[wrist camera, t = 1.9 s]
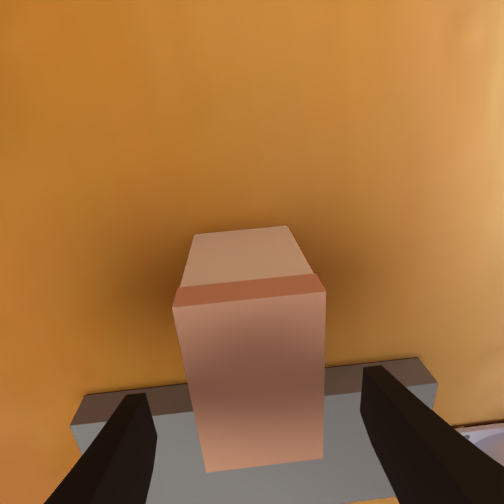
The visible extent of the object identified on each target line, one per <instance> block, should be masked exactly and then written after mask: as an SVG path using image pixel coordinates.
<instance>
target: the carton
mask: <svg viewBox="0 0 504 504" xmlns="http://www.w3.org/2000/svg"><path fill="white" fill-rule="evenodd" d="M172 311H173V316H174V321H175V326H176V330H177V335H178V340H179V345H180V350H181V354H182V359H183V364H184V369H185V374H186V378H187V383H188V388H189V393H190V398H191V402H192V407H193V412H194V417H195V421H196V426H197V431H198V436H199V441H200V445H201V450H202V455H203V460H204V465H205V469H206V473H209V472H217V471H225V470H233V469H241V468H249V467H257V466H265V465H273V464H282V463H290V462H298V461H306V460H314V459H322V458H323V430H324V381H325V332H326V290H325V288H324V287H323V285H322V283H321V281H320V280H319V278H318V276H317V274H316V273H313V271H312V269H311V268H310V266H309V264H308V262H307V260H306V259H305V257H304V255H303V253H302V251H301V250H300V248H299V246H298V244H297V242H296V241H295V239H294V237H293V235H292V233H291V232H290V230H289V228H288V226H287V225H286V226H276V227H265V228H255V229H245V230H234V231H224V232H213V233H203V234H194V238H193V241H192V245H191V248H190V252H189V256H188V259H187V263H186V267H185V270H184V274H183V277H182V281H181V285H180V287H178V288H177V291H176V295H175V298H174V302H173V305H172Z"/></svg>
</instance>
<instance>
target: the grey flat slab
mask: <svg viewBox="0 0 504 504" xmlns="http://www.w3.org/2000/svg"><path fill="white" fill-rule="evenodd" d="M378 365H382V366H383V367H384V368H385V369H386V370H388V371H389V372H390V373H391V374H392V375H393V376H394V377H395V378H396V379H397V380H399V381H400V382H401V383H402V384H403V385H404V386H405V387H406V388H407V389H408V390H410V391H411V392H412V393H413V394H414V395H415V396H416V397H417V398H419V399H420V400H421V401H422V402H423V403H424V404H425V405H427V406H428V407H429V408H430V409H431V410H433V405H434V400H435V395H436V391H437V386H438V382H437V381H436V380H435V378H434V377H433V376H432V375H431V373H430V372H429V371H428V370H427V368H426V367H425V366H424V365H423V363H422V362H421V361H420V360H419V358H411V359H402V360H393V361H384V362H375V363H366V364H358V365H349V366H340V367H331V368H325V381H324V430H323V458H322V459H314V460H306V461H298V462H290V463H282V464H273V465H265V466H257V467H249V468H241V469H233V470H225V471H217V472H209V473H206V469H205V465H204V460H203V455H202V450H201V445H200V441H199V436H198V431H197V426H196V421H195V417H194V412H193V407H192V402H191V398H190V393H189V388H188V384H181V385H172V386H163V387H154V388H145V389H136V390H128V391H119V392H110V393H101V394H92V395H85V397H84V398H83V400H82V402H81V404H80V406H79V408H78V410H77V412H76V414H75V416H74V418H73V420H72V422H71V424H70V428H71V430H72V433H73V435H74V437H75V440H76V442H77V444H78V447H79V449H80V451H81V453H82V455H83V454H84V452H85V451H86V450H87V448H88V447H89V446H90V444H91V443H92V442H93V440H94V439H95V438H96V436H97V435H98V433H99V432H100V431H101V429H102V428H103V426H104V425H105V424H106V422H107V421H108V419H109V418H110V417H111V415H112V414H113V412H114V411H115V409H116V408H117V407H118V405H119V404H120V402H121V401H122V399H123V398H124V397H125V396H126V395H128V394H137V393H146V397H147V400H148V404H149V407H150V411H151V414H152V418H153V421H154V425H155V428H156V432H157V435H158V437H157V446H156V454H155V461H154V468H153V474H152V478H151V483H150V487H149V491H148V495H147V500H146V504H343V503H350V502H358V501H366V500H373V499H381V498H389V497H396V495H395V493H394V491H393V489H392V486H391V484H390V482H389V480H388V478H387V476H386V474H385V472H384V470H383V468H382V466H381V464H380V461H379V459H378V457H377V455H376V453H375V451H374V449H373V447H372V444H371V442H370V439H369V436H368V434H367V431H366V428H365V425H364V422H363V419H362V417H361V414H360V402H361V390H362V378H363V367H369V366H378Z"/></svg>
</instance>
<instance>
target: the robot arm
mask: <svg viewBox="0 0 504 504" xmlns="http://www.w3.org/2000/svg"><path fill="white" fill-rule="evenodd" d="M360 414H361V417H362V419H363V422H364V425H365V428H366V431H367V434H368V436H369V439H370V442H371V444H372V447H373V449H374V451H375V453H376V455H377V457H378V459H379V461H380V464H381V466H382V468H383V470H384V472H385V474H386V476H387V478H388V480H389V482H390V484H391V486H392V489H393V491H394V493H395V495H396V497H397V499H398V501H399V503H400V504H504V423H497V424H489V425H481V426H473V427H465V428H457V429H454V428H453V427H451V426H450V425H449V424H448V423H447V422H445V421H444V420H443V419H442V418H441V417H439V416H438V415H437V414H436V413H435V412H434V411H432V410H431V409H430V408H429V407H428V406H427V405H425V404H424V403H423V402H422V401H421V400H420V399H419V398H417V397H416V396H415V395H414V394H413V393H412V392H411V391H410V390H408V389H407V388H406V387H405V386H404V385H403V384H402V383H401V382H400V381H399V380H397V379H396V378H395V377H394V376H393V375H392V374H391V373H390V372H389V371H388V370H386V369H385V368H384V367H383V366H382V365H378V366H369V367H363V378H362V390H361V402H360ZM157 437H158V435H157V432H156V428H155V425H154V421H153V418H152V414H151V411H150V407H149V404H148V400H147V397H146V393H137V394H128V395H126V396H125V397H124V398H123V399H122V401H121V402H120V404H119V405H118V407H117V408H116V409H115V411H114V412H113V414H112V415H111V417H110V418H109V419H108V421H107V422H106V424H105V425H104V426H103V428H102V429H101V431H100V432H99V433H98V435H97V436H96V438H95V439H94V440H93V442H92V443H91V444H90V446H89V447H88V448H87V450H86V451H85V452H84V454H83V455H82V456H81V458H80V459H79V460H78V462H77V463H76V464H75V466H74V467H73V468H72V469H71V471H70V472H69V473H68V474H67V476H66V477H65V478H64V479H63V481H62V482H61V483H60V484H59V486H58V487H57V488H56V489H55V491H54V492H53V493H52V494H51V496H50V497H49V498H48V499H47V500H46V502H45V503H44V504H146V500H147V495H148V491H149V487H150V483H151V478H152V474H153V468H154V461H155V454H156V446H157Z"/></svg>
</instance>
